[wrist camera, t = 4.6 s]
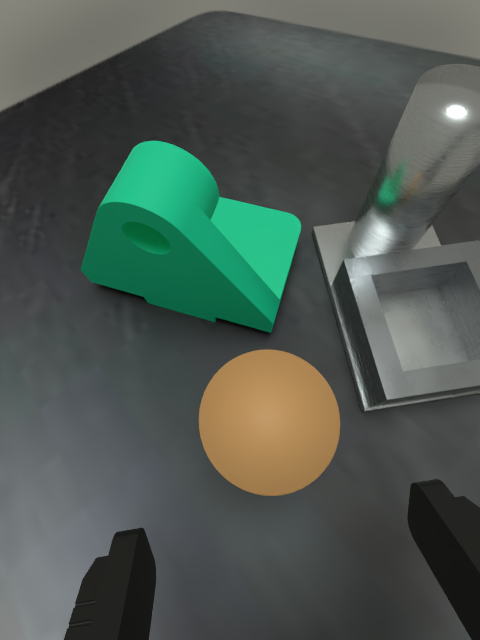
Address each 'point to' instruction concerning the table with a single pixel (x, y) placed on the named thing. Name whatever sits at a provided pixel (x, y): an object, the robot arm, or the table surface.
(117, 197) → the camera mount
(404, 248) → the clear post on plate
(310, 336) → the table surface
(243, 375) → the tan rounded cylinder
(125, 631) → the robot arm
